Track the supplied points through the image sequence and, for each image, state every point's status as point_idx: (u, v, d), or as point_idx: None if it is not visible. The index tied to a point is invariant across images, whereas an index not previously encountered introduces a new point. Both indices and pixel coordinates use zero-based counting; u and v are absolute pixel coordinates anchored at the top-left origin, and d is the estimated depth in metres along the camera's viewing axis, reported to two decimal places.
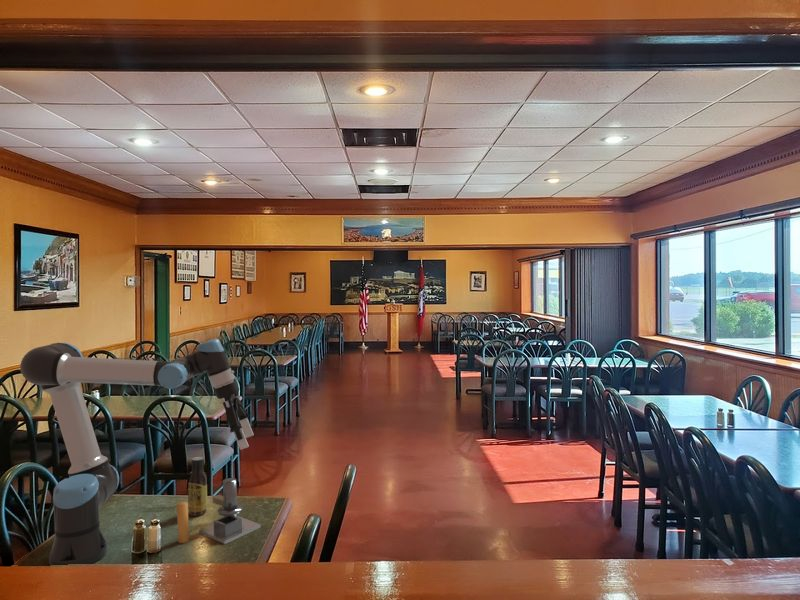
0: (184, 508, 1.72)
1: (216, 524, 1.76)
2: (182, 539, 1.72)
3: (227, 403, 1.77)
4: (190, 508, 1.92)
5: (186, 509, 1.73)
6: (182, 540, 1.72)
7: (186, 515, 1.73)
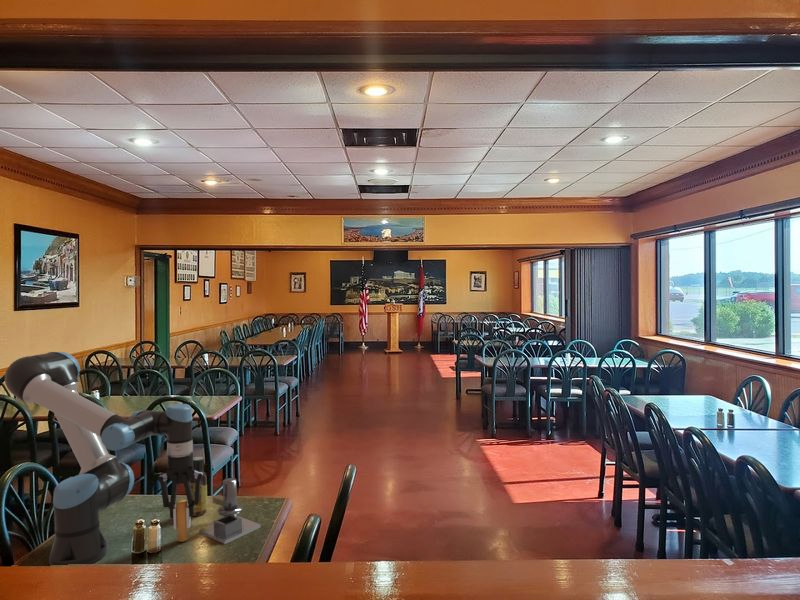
0: (184, 506, 1.72)
1: (216, 524, 1.76)
2: (181, 537, 1.72)
3: None
4: None
5: (185, 507, 1.73)
6: (181, 538, 1.72)
7: (185, 513, 1.73)
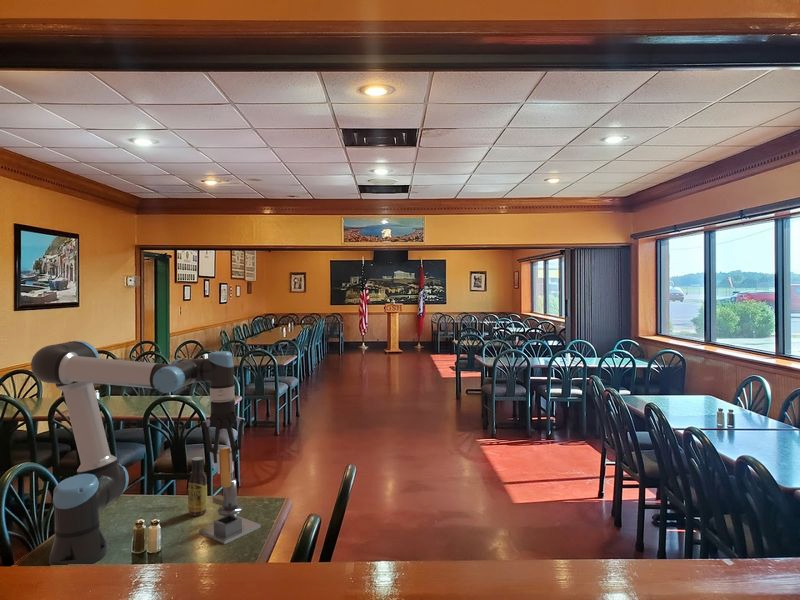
0: (227, 452, 1.75)
1: (216, 524, 1.76)
2: (225, 483, 1.75)
3: None
4: (190, 508, 1.92)
5: (228, 454, 1.76)
6: (225, 484, 1.75)
7: (229, 460, 1.76)
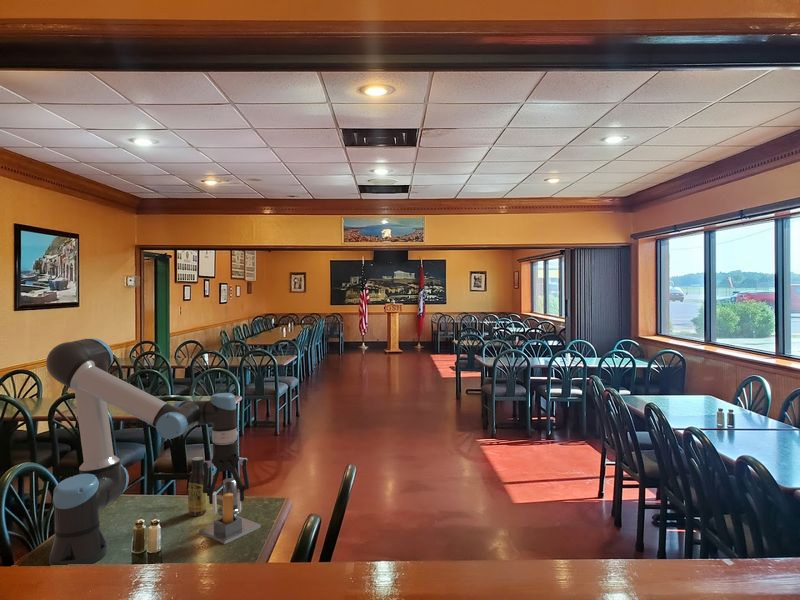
0: (230, 499, 1.76)
1: (216, 524, 1.76)
2: None
3: None
4: (190, 508, 1.92)
5: (232, 501, 1.76)
6: None
7: (231, 506, 1.76)
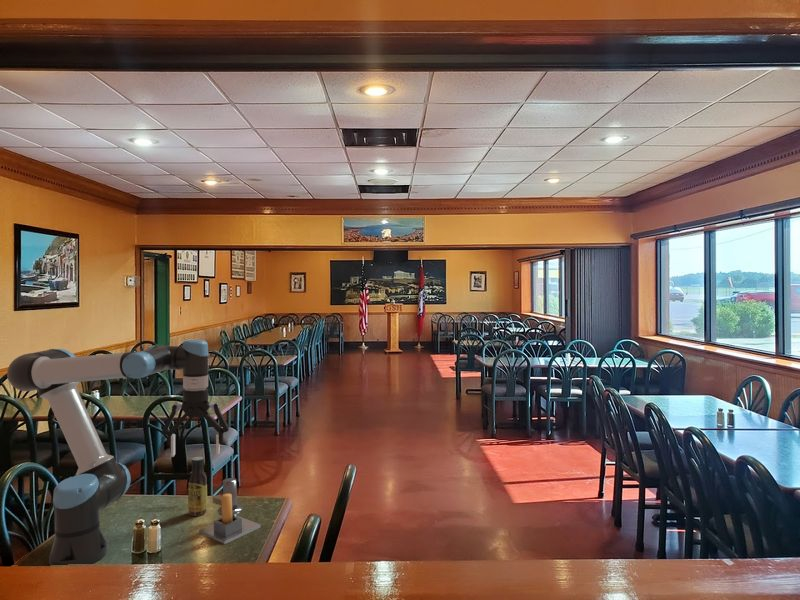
0: (229, 499, 1.76)
1: (216, 524, 1.76)
2: None
3: None
4: (190, 508, 1.92)
5: (230, 501, 1.76)
6: None
7: (230, 506, 1.76)
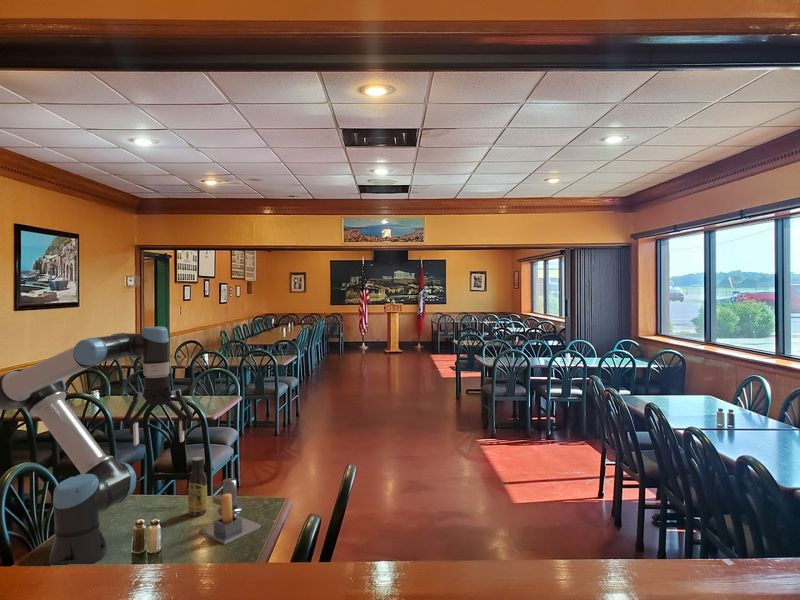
0: (229, 499, 1.76)
1: (216, 524, 1.76)
2: None
3: None
4: (190, 508, 1.92)
5: (230, 501, 1.76)
6: None
7: (230, 506, 1.76)
